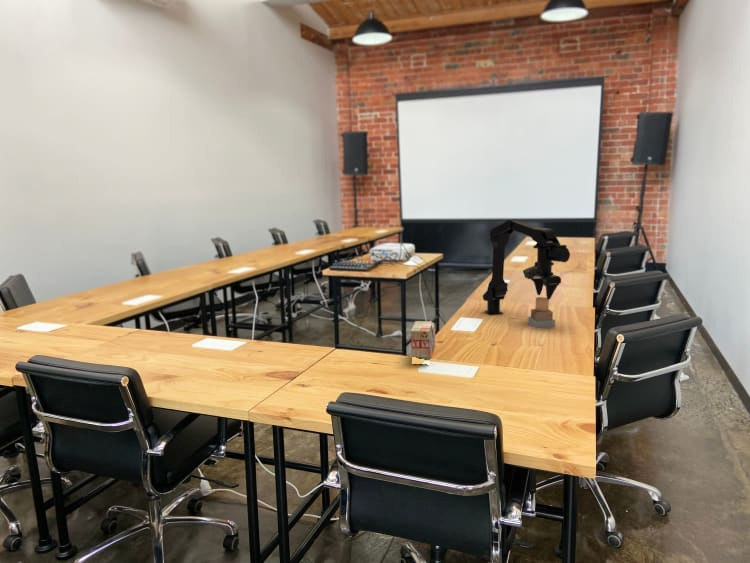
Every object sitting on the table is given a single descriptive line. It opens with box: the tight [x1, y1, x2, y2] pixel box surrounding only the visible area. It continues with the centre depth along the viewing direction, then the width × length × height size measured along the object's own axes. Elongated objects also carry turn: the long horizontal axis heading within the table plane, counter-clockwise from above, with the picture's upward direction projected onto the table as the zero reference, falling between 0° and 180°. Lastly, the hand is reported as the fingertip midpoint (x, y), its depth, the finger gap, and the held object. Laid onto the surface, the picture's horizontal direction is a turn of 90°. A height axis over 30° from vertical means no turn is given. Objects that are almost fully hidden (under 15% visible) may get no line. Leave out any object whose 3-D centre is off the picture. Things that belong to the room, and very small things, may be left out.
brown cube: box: [534, 296, 550, 312], centre depth 225 cm, size 5×5×5 cm
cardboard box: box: [410, 320, 436, 360], centre depth 192 cm, size 21×6×12 cm, turn 169°
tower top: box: [530, 308, 554, 321], centre depth 226 cm, size 6×6×4 cm
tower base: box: [527, 316, 556, 330], centre depth 227 cm, size 8×8×4 cm
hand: (543, 297), depth 225 cm, fingers open, 9 cm apart
